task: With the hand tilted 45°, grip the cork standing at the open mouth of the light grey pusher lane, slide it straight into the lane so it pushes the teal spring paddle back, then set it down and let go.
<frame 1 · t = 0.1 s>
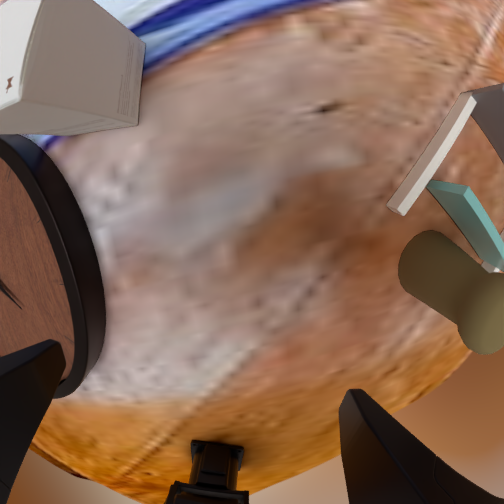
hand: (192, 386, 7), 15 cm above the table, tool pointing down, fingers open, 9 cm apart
supplement box: (104, 89, 18), on the table
pusher lane: (469, 203, 19), on the table
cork: (426, 263, 21), on the table
pusher paddle: (476, 229, 17), point 3 cm above the table, slide at 0.0 cm
wall clock: (5, 269, 24), on the table
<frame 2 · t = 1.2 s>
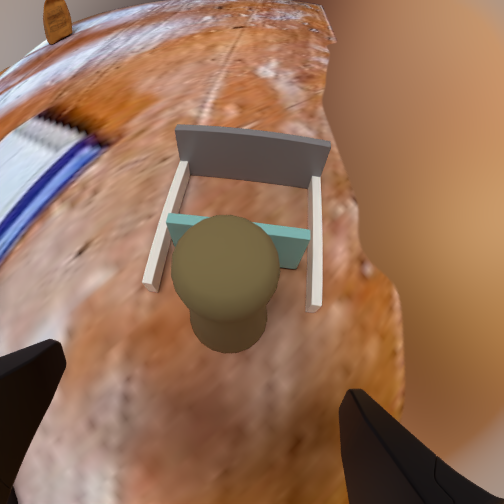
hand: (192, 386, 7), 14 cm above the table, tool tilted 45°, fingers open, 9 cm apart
coffee package: (61, 38, 57), on the table
pusher lane: (239, 237, 25), on the table
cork: (228, 316, 22), on the table
pusher paddle: (237, 243, 22), point 3 cm above the table, slide at 0.0 cm
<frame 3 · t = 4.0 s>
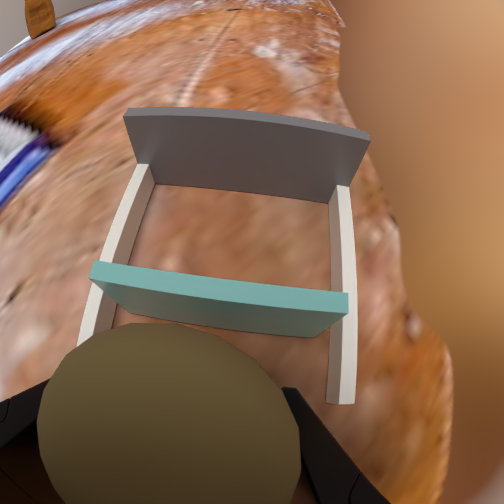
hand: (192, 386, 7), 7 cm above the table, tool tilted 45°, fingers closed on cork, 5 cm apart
coffee package: (44, 32, 48), on the table
pusher lane: (225, 285, 16), on the table
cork: (207, 411, 13), on the table, touching gripper
pusher paddle: (216, 307, 12), point 3 cm above the table, slide at 0.0 cm
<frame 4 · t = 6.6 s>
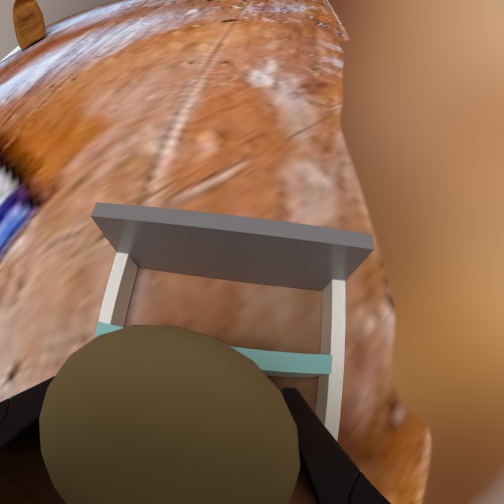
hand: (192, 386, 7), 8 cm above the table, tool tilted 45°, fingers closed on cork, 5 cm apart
coffee package: (34, 42, 46), on the table
pusher lane: (213, 386, 15), on the table
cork: (206, 423, 12), point 2 cm above the table, touching gripper
pusher paddle: (212, 358, 13), point 3 cm above the table, slide at 3.5 cm
when the fingers open (7 cm above the table, at t = 7.8 s): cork stays where it is, on the table.
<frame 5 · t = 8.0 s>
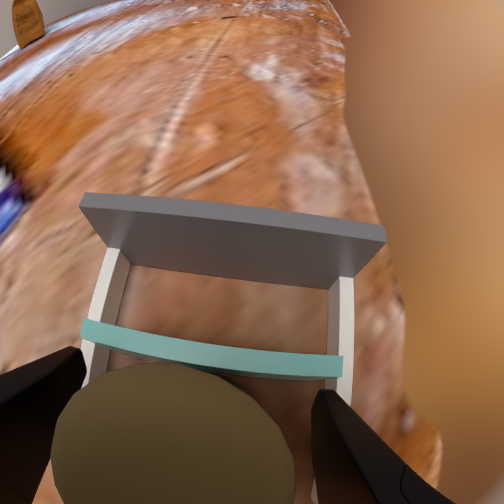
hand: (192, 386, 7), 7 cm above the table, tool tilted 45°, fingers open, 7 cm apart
coffee package: (33, 40, 46), on the table
pusher lane: (210, 393, 13), on the table
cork: (206, 426, 13), on the table
pusher paddle: (209, 360, 12), point 3 cm above the table, slide at 3.7 cm
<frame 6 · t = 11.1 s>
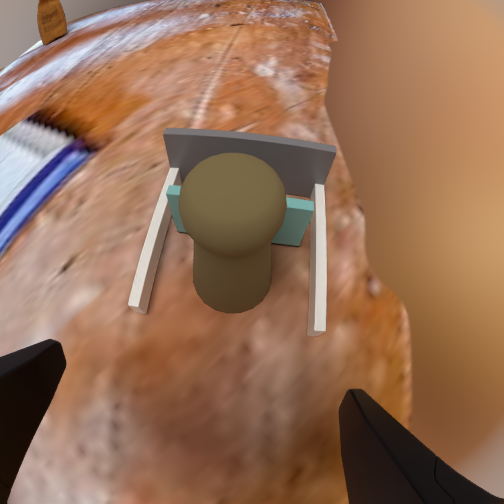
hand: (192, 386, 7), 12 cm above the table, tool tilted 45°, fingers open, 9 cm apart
coffee package: (55, 38, 55), on the table
pusher lane: (235, 253, 23), on the table
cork: (232, 276, 22), on the table
pusher paddle: (238, 217, 21), point 3 cm above the table, slide at 3.7 cm
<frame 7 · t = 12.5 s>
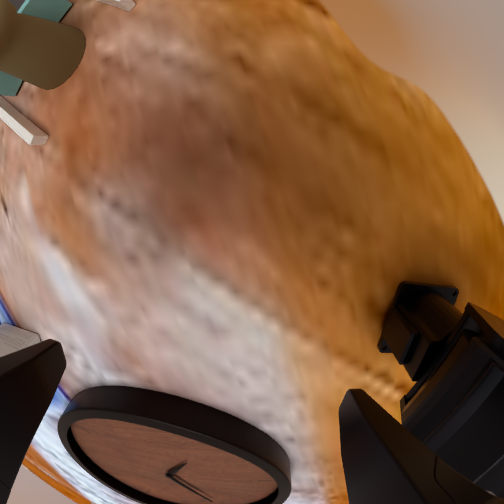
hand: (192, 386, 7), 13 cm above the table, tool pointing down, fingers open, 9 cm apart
supplement box: (30, 351, 25), on the table
pusher lane: (48, 52, 15), on the table
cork: (59, 58, 15), on the table
pusher paddle: (22, 42, 12), point 3 cm above the table, slide at 3.7 cm
wall clock: (172, 460, 30), on the table
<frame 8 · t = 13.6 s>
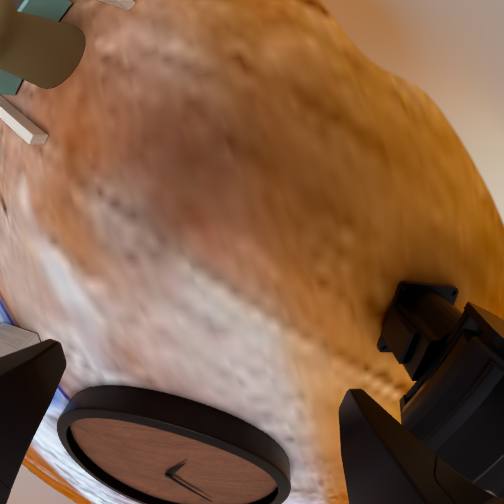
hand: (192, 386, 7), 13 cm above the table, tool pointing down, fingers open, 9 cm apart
supplement box: (29, 350, 25), on the table
pusher lane: (47, 51, 15), on the table
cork: (59, 57, 15), on the table
pusher paddle: (21, 41, 12), point 3 cm above the table, slide at 3.7 cm
wall clock: (172, 460, 30), on the table
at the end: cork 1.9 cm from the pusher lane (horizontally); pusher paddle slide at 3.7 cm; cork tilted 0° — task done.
